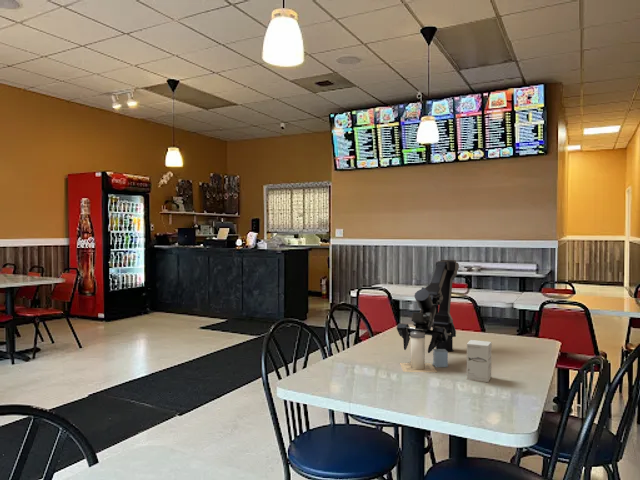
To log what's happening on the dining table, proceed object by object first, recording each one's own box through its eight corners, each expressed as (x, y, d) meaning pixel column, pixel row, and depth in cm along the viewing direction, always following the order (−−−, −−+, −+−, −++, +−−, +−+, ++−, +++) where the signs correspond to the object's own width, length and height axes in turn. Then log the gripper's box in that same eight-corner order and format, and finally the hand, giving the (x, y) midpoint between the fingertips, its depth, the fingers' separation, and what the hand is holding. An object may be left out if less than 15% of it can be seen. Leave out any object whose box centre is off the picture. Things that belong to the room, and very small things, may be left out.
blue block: (445, 364, 187) (445, 349, 187) (447, 367, 183) (447, 351, 183) (433, 364, 187) (433, 348, 187) (435, 367, 183) (435, 351, 183)
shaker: (423, 365, 185) (423, 331, 185) (426, 369, 180) (426, 334, 180) (409, 365, 185) (409, 331, 185) (411, 369, 180) (411, 334, 180)
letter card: (430, 363, 188) (430, 363, 188) (437, 372, 176) (437, 371, 176) (399, 363, 189) (399, 363, 189) (403, 372, 177) (403, 371, 177)
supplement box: (466, 380, 167) (465, 343, 167) (470, 374, 174) (470, 339, 174) (488, 383, 164) (488, 345, 164) (491, 377, 170) (491, 341, 170)
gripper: (398, 302, 191) (386, 335, 181) (445, 305, 181) (436, 341, 171) (405, 319, 197) (395, 352, 188) (451, 323, 188) (442, 358, 178)
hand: (416, 350), depth 181 cm, fingers open, 9 cm apart
